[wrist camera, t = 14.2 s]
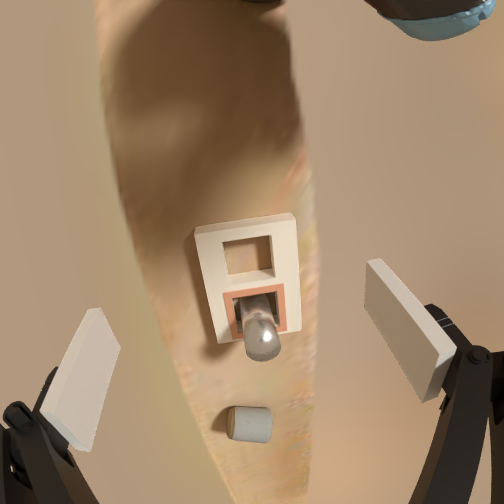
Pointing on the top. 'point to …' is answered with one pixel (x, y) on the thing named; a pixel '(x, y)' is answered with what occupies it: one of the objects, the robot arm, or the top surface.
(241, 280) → the pin board
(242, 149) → the top surface
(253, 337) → the pin
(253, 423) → the ceramic mug
